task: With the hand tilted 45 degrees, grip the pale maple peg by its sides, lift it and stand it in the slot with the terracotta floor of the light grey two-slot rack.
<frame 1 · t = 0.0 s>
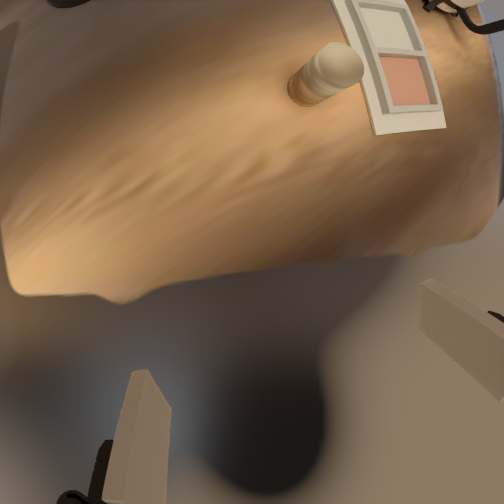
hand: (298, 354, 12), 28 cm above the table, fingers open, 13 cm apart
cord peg: (305, 89, 35), on the table
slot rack: (392, 56, 34), on the table
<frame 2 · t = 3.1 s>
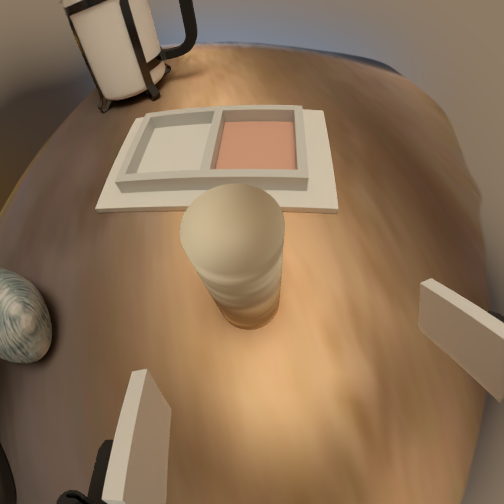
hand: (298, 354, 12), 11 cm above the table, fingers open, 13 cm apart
coffee press: (143, 87, 42), on the table
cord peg: (249, 300, 24), on the table
yarn ball: (26, 322, 25), on the table
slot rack: (216, 154, 32), on the table
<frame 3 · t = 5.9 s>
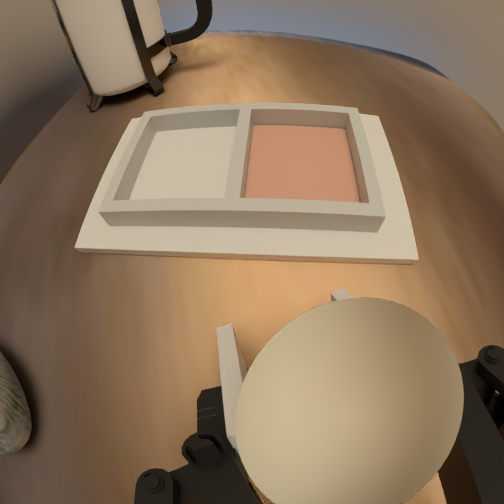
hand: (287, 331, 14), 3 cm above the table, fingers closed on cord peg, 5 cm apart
coffee press: (143, 81, 34), on the table
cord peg: (303, 400, 15), on the table, touching gripper
yarn ball: (1, 391, 16), on the table
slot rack: (243, 170, 23), on the table
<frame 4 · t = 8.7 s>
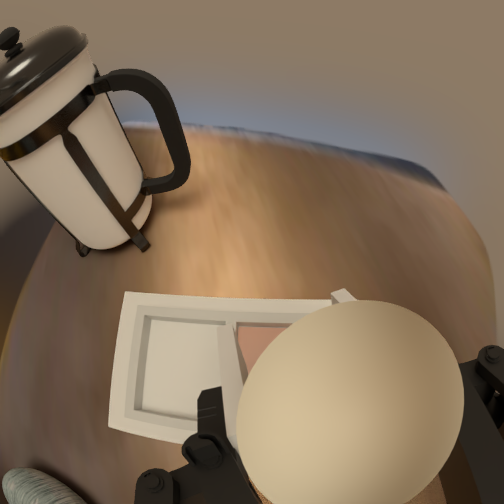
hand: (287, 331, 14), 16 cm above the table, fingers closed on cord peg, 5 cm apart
coffee press: (128, 216, 37), on the table
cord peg: (303, 401, 15), point 12 cm above the table, touching gripper
yarn ball: (69, 502, 19), on the table
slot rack: (231, 374, 28), on the table
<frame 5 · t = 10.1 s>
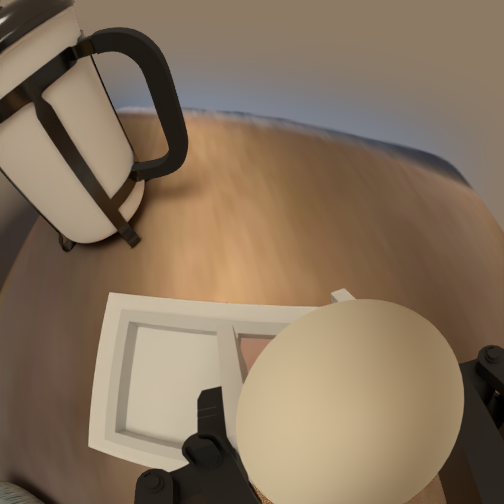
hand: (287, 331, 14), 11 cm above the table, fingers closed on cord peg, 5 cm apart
coffee press: (117, 207, 33), on the table
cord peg: (303, 400, 15), point 7 cm above the table, touching gripper
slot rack: (230, 394, 22), on the table
when the fingers open (6 cm above the table, at t = 11.5 s): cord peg drops 1 cm, resting on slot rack.
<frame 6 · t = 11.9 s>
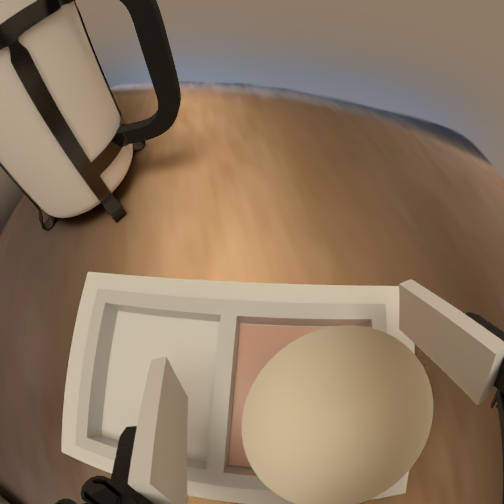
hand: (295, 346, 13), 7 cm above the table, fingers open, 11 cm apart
coffee press: (104, 181, 28), on the table
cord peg: (300, 400, 17), point 1 cm above the table, touching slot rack
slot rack: (228, 394, 18), on the table
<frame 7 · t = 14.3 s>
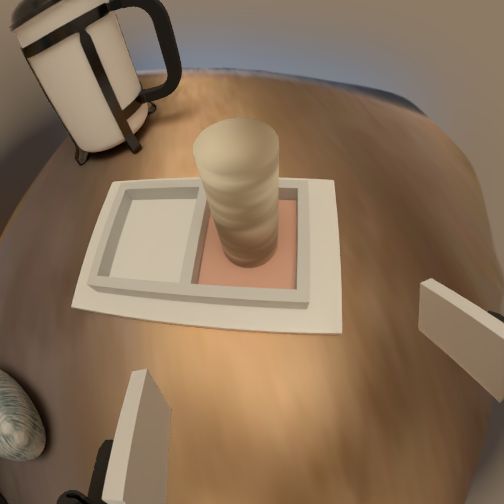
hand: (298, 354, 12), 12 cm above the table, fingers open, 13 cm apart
coffee press: (125, 132, 39), on the table
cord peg: (249, 242, 27), point 1 cm above the table, touching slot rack
yarn ball: (19, 412, 21), on the table
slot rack: (201, 245, 28), on the table
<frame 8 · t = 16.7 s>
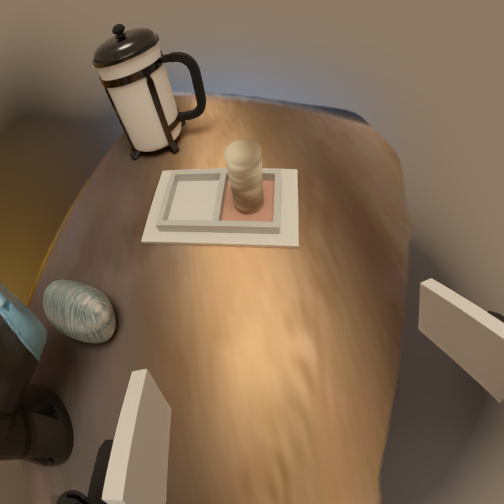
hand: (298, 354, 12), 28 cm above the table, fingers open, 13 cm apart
coffee press: (164, 139, 60), on the table
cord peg: (248, 202, 49), point 1 cm above the table, touching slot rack
yarn ball: (91, 317, 42), on the table
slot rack: (222, 205, 50), on the table
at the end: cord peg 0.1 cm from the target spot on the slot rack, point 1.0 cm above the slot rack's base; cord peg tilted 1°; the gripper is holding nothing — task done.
